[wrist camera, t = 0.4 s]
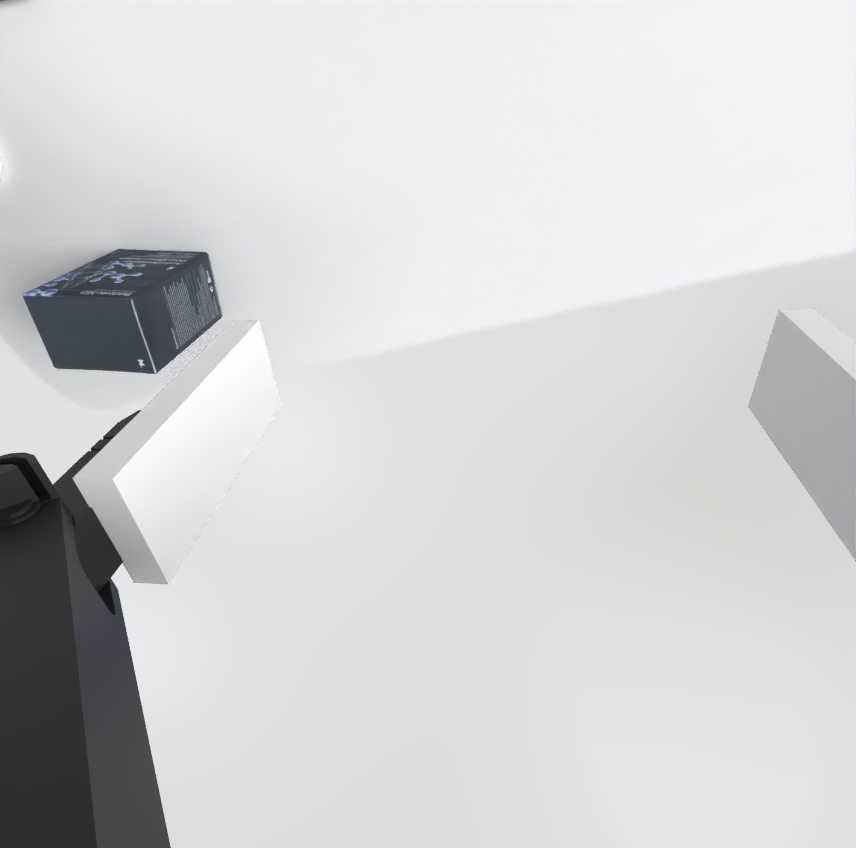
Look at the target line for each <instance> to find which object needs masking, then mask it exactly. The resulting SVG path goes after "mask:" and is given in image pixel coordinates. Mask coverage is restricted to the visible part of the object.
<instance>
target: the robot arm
mask: <svg viewBox="0 0 856 848" xmlns="http://www.w3.org/2000/svg"><path fill="white" fill-rule="evenodd" d="M281 406H282V403H281V400H280V396H279V392H278V389H277V385H276V381H275V377H274V374H273V370H272V366H271V363H270V359H269V355H268V351H267V348H266V344H265V340H264V337H263V333H262V329H261V326H260V322H259V320H250V321H232V322H231V323H230V324H229V325H228V326H227V327H226V328H225V329H224V330H223V331H222V332H221V333H220V334H219V335H218V336H217V337H216V338H215V339H214V340H213V341H212V342H211V343H210V344H209V345H208V346H207V347H206V348H205V349H204V350H202V351H201V352H200V353H199V354H198V355H197V356H196V357H195V358H194V359H193V360H192V361H191V362H190V363H189V364H188V365H187V366H186V367H185V368H184V369H183V370H182V371H181V372H180V373H179V374H178V375H177V376H176V377H175V378H174V379H173V380H172V381H171V382H170V383H169V384H168V385H167V386H166V387H165V388H164V389H163V390H162V391H161V392H160V393H159V394H158V395H157V396H156V397H155V398H154V399H153V400H152V401H150V402H149V403H148V404H147V405H146V407H144V408H143V409H142V410H139V411H137V412H135V413H134V414H132V415H130V416H128V417H127V418H125V419H123V420H122V421H120V422H118V423H117V424H116V425H115V426H114V427H113V428H112V429H111V430H110V431H109V432H108V433H107V434H106V435H105V436H104V437H103V440H99V441H98V443H96V444H95V445H94V446H93V447H92V448H91V451H88V452H87V453H86V454H85V455H84V456H83V457H82V458H80V459H79V460H78V461H77V462H76V463H75V464H74V465H73V466H72V467H71V468H70V469H69V470H68V471H67V472H66V473H65V474H64V475H63V476H62V477H61V478H60V479H59V480H57V481H56V482H55V483H54V484H53V485H52V483H51V481H50V480H49V478H48V477H47V475H46V473H45V472H44V470H43V469H42V467H41V465H40V464H39V462H38V461H37V459H36V457H35V456H34V455H31V454H28V453H11V454H7V455H3V456H0V848H171V847H170V842H169V838H168V833H167V828H166V823H165V818H164V813H163V808H162V804H161V798H160V794H159V789H158V784H157V779H156V774H155V769H154V764H153V759H152V755H151V750H150V745H149V740H148V735H147V730H146V725H145V721H144V715H143V711H142V705H141V701H140V696H139V691H138V686H137V682H136V676H135V671H134V666H133V662H132V657H131V652H130V647H129V642H128V637H127V632H126V627H125V622H124V617H123V613H122V608H121V603H120V598H119V593H118V589H117V587H116V586H115V584H114V583H113V581H112V579H111V577H112V575H113V574H114V573H115V571H116V570H117V569H118V567H119V566H120V565H121V563H123V565H124V566H125V568H126V570H127V571H128V573H129V575H130V577H131V578H132V580H133V582H134V583H153V584H169V583H170V582H171V580H172V579H173V577H174V576H175V574H176V572H177V571H178V569H179V568H180V566H181V564H182V563H183V561H184V560H185V558H186V556H187V555H188V553H189V552H190V550H191V548H192V547H193V545H194V544H195V542H196V541H197V539H198V538H199V536H200V534H201V533H202V531H203V530H204V528H205V527H206V525H207V523H208V522H209V520H210V518H211V517H212V515H213V514H214V512H215V511H216V509H217V508H218V506H219V504H220V503H221V501H222V500H223V498H224V496H225V495H226V493H227V492H228V490H229V489H230V487H231V485H232V484H233V482H234V481H235V479H236V478H237V476H238V474H239V473H240V471H241V469H242V468H243V466H244V465H245V463H246V462H247V460H248V459H249V457H250V455H251V454H252V452H253V450H254V449H255V447H256V446H257V444H258V443H259V441H260V439H261V438H262V436H263V435H264V433H265V432H266V430H267V428H268V427H269V425H270V424H271V422H272V421H273V419H274V417H275V416H276V414H277V413H278V411H279V409H280V408H281ZM748 407H749V408H750V410H751V411H752V413H753V414H754V416H755V417H756V418H757V420H758V421H759V423H760V424H761V425H762V427H763V429H764V430H765V431H766V433H767V434H768V436H769V437H770V439H771V440H772V441H773V443H774V444H775V446H776V447H777V449H778V450H779V451H780V453H781V454H782V456H783V457H784V459H785V460H786V462H787V463H788V464H789V466H790V467H791V469H792V470H793V471H794V473H795V474H796V476H797V477H798V479H799V480H800V482H801V483H802V485H803V486H804V487H805V489H806V490H807V492H808V493H809V495H810V496H811V497H812V499H813V500H814V502H815V503H816V505H817V506H818V508H819V509H820V510H821V512H822V513H823V514H824V516H825V518H826V519H827V520H828V522H829V523H830V525H831V526H832V528H833V529H834V530H835V532H836V533H837V535H838V536H839V538H840V539H841V541H842V542H843V543H844V545H845V546H846V548H847V549H848V551H849V552H850V553H851V555H852V556H853V558H854V559H855V561H856V342H854V341H853V340H852V339H851V338H850V337H848V336H847V335H846V334H845V333H843V332H842V331H841V330H840V329H839V328H837V327H836V326H835V325H833V324H832V323H831V322H830V321H829V320H827V319H826V318H825V317H824V316H822V315H821V314H820V313H819V312H818V311H816V310H815V309H779V311H778V315H777V317H776V321H775V324H774V327H773V330H772V334H771V336H770V340H769V342H768V346H767V349H766V352H765V355H764V358H763V361H762V364H761V368H760V371H759V374H758V377H757V380H756V384H755V386H754V389H753V393H752V396H751V399H750V402H749V405H748Z"/></svg>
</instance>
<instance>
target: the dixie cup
mask: <svg viewBox="0 0 856 848" xmlns="http://www.w3.org/2000/svg"><path fill="white" fill-rule="evenodd" d="M1 177H2V163H1V159H0V179H1Z"/></svg>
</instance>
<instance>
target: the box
mask: <svg viewBox="0 0 856 848" xmlns="http://www.w3.org/2000/svg"><path fill="white" fill-rule="evenodd" d="M23 297H24V300H25V302H26V304H27V307H28V309H29V311H30V314H31V316H32V318H33V320H34V322H35V324H36V327H37V329H38V332H39V334H40V336H41V338H42V340H43V343H44V345H45V347H46V349H47V352H48V354H49V356H50V359H51V361H52V363H53V366H54V367H55V368H57V369H83V370H104V371H123V372H135V373H136V372H137V373H148V374H157V373H158V372H159V371H160V370H161V369H162V368H163V367H165V366H166V365H167V364H168V363H169V362H170V361H172V360H173V359H174V358H175V357H176V356H177V355H179V354H180V353H181V352H182V351H183V350H184V349H186V348H187V347H188V346H189V345H190V344H191V343H192V342H194V341H195V340H196V339H197V338H198V337H199V336H201V335H202V334H203V333H204V332H205V331H206V330H208V329H209V328H210V327H211V326H212V325H213V324H215V323H216V322H217V321H218V320H219V319H221V317H222V311H221V307H220V301H219V297H218V292H217V289H216V285H215V280H214V276H213V272H212V267H211V263H210V259H209V255H208V254H207V253H206V252H177V251H144V250H124V249H117V250H115V251H113V252H111V253H109V254H107V255H105V256H103V257H101V258H99V259H96V260H95V261H92V262H90V263H88V264H86V265H84V266H82V267H80V268H78V269H75V270H73V271H71V272H69V273H67V274H65V275H63V276H61V277H59V278H57V279H55V280H53V281H50V282H48V283H46V284H44V285H42V286H40V287H38V288H35V289H33V290H31V291H29V292H26V293H24V294H23Z"/></svg>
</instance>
